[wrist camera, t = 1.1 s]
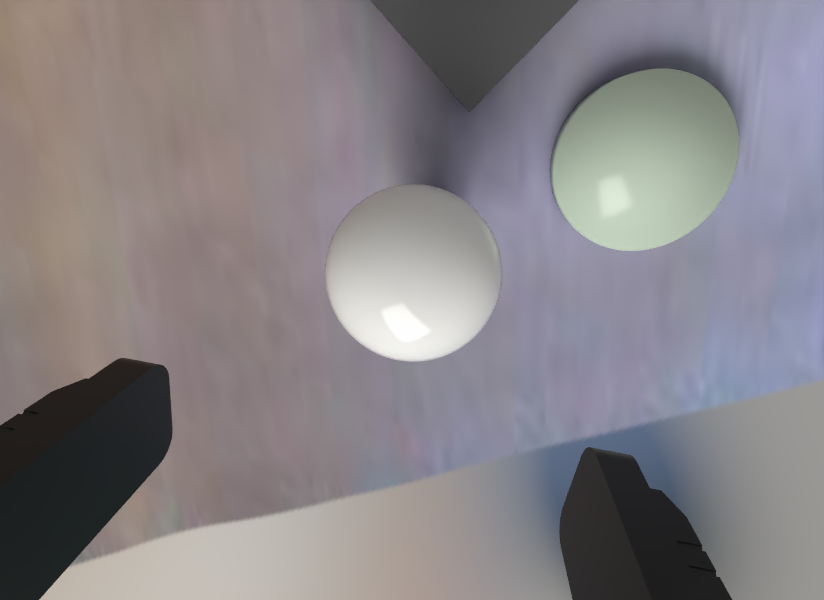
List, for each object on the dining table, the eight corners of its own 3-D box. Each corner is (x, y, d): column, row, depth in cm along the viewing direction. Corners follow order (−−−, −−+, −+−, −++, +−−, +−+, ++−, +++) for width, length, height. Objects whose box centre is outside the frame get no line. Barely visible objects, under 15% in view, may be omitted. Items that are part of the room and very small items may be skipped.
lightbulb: (424, 135, 22) (395, 150, 12) (515, 224, 24) (557, 306, 13) (343, 228, 24) (260, 307, 14) (430, 306, 26) (410, 430, 15)
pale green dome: (519, 141, 22) (521, 142, 21) (683, 30, 20) (694, 25, 19) (596, 274, 24) (602, 280, 23) (754, 186, 22) (767, 190, 21)
